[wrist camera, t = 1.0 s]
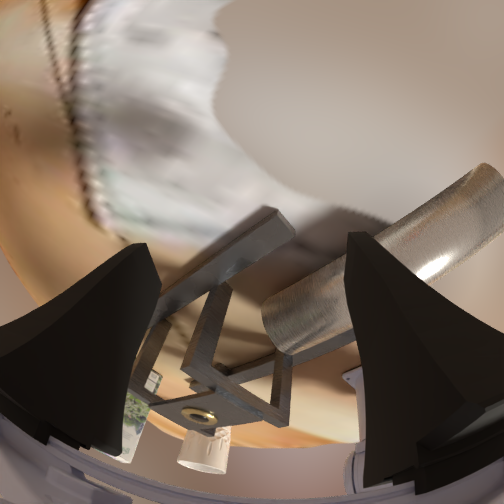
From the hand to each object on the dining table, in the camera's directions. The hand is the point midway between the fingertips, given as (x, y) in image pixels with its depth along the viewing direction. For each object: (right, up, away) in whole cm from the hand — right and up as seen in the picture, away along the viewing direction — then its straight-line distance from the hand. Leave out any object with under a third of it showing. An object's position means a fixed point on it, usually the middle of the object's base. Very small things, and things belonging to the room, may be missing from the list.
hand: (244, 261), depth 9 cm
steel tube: (+10, -1, +7) cm, 13 cm away
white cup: (-6, -28, +30) cm, 42 cm away
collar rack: (-2, -8, +17) cm, 19 cm away
